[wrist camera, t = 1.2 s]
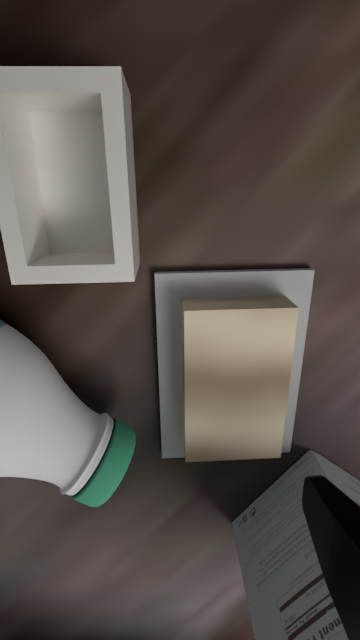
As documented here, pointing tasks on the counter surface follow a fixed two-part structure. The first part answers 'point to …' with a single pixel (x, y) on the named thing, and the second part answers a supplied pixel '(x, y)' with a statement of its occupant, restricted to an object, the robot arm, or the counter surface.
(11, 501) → the counter surface
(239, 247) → the counter surface
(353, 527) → the robot arm
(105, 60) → the counter surface
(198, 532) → the counter surface
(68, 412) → the milk bottle
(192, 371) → the board
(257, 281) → the mat
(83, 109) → the dish
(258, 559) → the supplement box
